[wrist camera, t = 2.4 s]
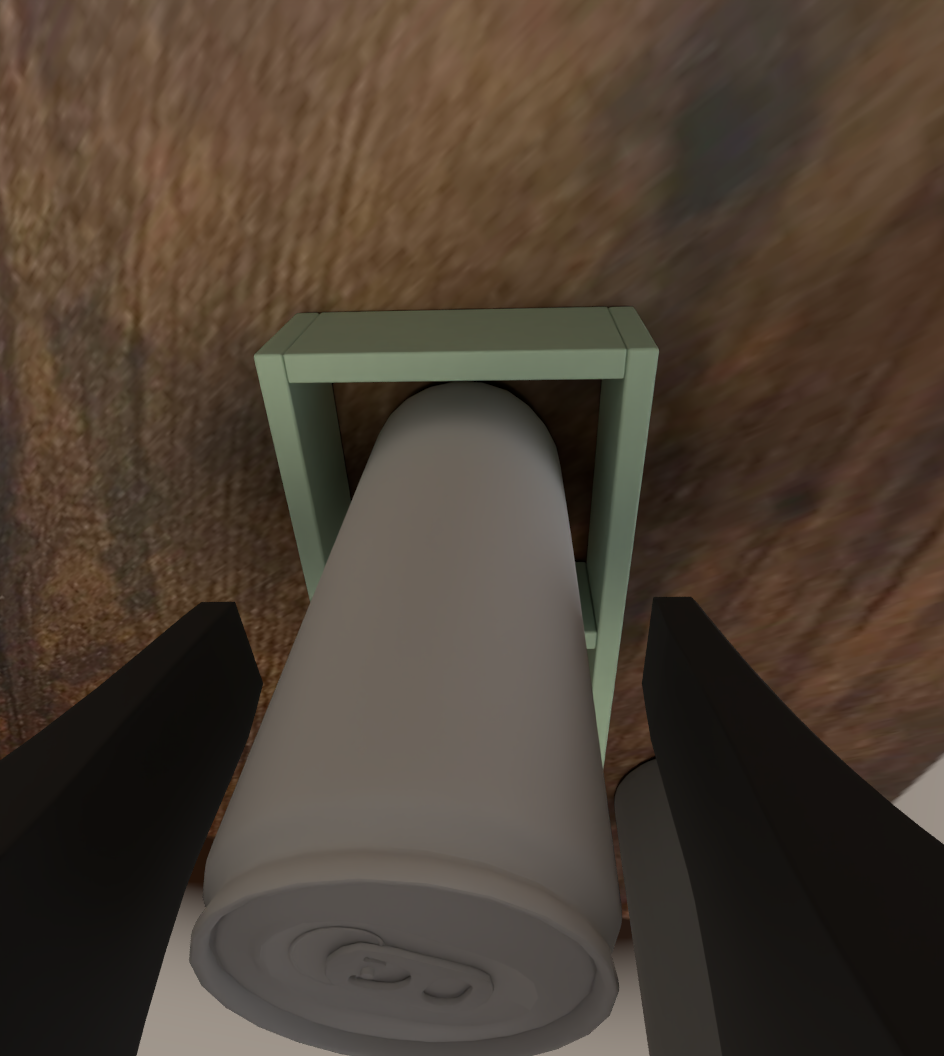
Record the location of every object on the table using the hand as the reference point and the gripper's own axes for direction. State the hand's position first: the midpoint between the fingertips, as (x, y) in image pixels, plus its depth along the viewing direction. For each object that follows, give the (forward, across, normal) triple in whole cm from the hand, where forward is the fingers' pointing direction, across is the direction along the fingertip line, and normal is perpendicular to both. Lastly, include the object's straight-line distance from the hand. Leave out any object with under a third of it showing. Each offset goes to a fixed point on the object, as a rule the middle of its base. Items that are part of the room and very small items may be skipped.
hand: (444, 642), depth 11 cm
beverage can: (+7, 0, 0) cm, 7 cm away
